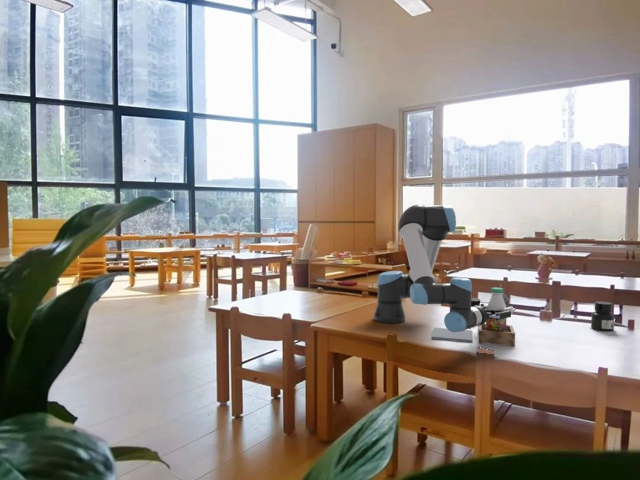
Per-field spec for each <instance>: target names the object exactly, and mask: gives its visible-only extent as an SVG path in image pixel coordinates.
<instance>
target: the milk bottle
mask: <svg viewBox="0 0 640 480" xmlns="http://www.w3.org/2000/svg"><path fill="white" fill-rule="evenodd" d="M490 291H491V293H490V294H491V298H489V301H488V303H487V304H486V305H487V310H504V308H506V305H505V302H504V300H503V293H504V288H502V287H501V288H500V287H491V290H490ZM485 324H486V330H488V331H501V332H506V325H507V318H504V319H500V320H495V318H493V319H488V320H487V321H486V322H485Z"/></svg>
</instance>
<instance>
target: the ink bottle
mask: <svg viewBox="0 0 640 480" xmlns="http://www.w3.org/2000/svg"><path fill="white" fill-rule="evenodd" d="M612 312H613V303H612V302H608V301H594V311H593V312H592V313H591V316H590V317H591V318H590V319H591V322H590V323H591V325H590V328H591V329H592V328H593V330H595V329H597V330H596V331H600V330H604V331H603V332H609V331H608V330H613V331H614V330H615V315H614V314H613V313H612Z"/></svg>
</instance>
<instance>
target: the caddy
mask: <svg viewBox="0 0 640 480" xmlns="http://www.w3.org/2000/svg"><path fill="white" fill-rule="evenodd" d="M477 339H478V344H485V345H486V344H489V345H501V346H512V347H515V346H516V332H515V330H514V326H513V325H510V324H506V332H501V331H488V330H486V322H485V323H484V324H482V325H479V326H477Z"/></svg>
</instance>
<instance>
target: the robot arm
mask: <svg viewBox="0 0 640 480" xmlns="http://www.w3.org/2000/svg"><path fill="white" fill-rule="evenodd" d="M397 228H398V229H397V230H398V234H399V237H400V238H401V239H403V243H404V248H405V253H406V255H407V260H408V265H409V272H408V273H404V272H403V271H402V270H391V271H390V270H389V271H385V272H382V273H380V274H378V278H377V305H376V308H375V310H374V313H373V320H374V321H376V322H379V323H384V324H398V323H399V324H401V323H403V322H406V313H405V310H404V306H403V299H410V301H411V302H412V303H413V304H414V305H422V306H423V305H449V312H448V313H446V315H445V316H444V317H443V318H444V320H443V324H444V326H445V328H446V329H448V330H449V331H451V332H461V331H464V330H472V328H475V327H478V326H479V325H482V324H484V323H485V324H486V321H487V320H488V319H493V318H495V320H500V319H504V318H506V319H507V318H511V317H512V314H513V312H514V311H513V310H514V307H513V306H508V307H507V308H504V310H487V305H488V304H484V303H480V306H479V305H475V306H473V307H471V298H473V297H472V294H473V285H472V280H471V279H469V278H468V277H461V276H460V277H459V276H458V277H452V278H451V279H450V281H449V283H438V282H437V283H436V277H435V276H434V274H433V270H434V267H435V264H436V260H437V257H438V254H439V251H440V248H441V244H442V242H443V241H445V240H447V238H448V234H451V233H454V232H455V230H456V228H457V218H456V212H455V210H454V208H453V207H452V205H448V204H415V205H411V206H409V207H408V208H406V209H405V210H404V211H403V213H402V214H401V215H400V218H399V220H398V225H397Z"/></svg>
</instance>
